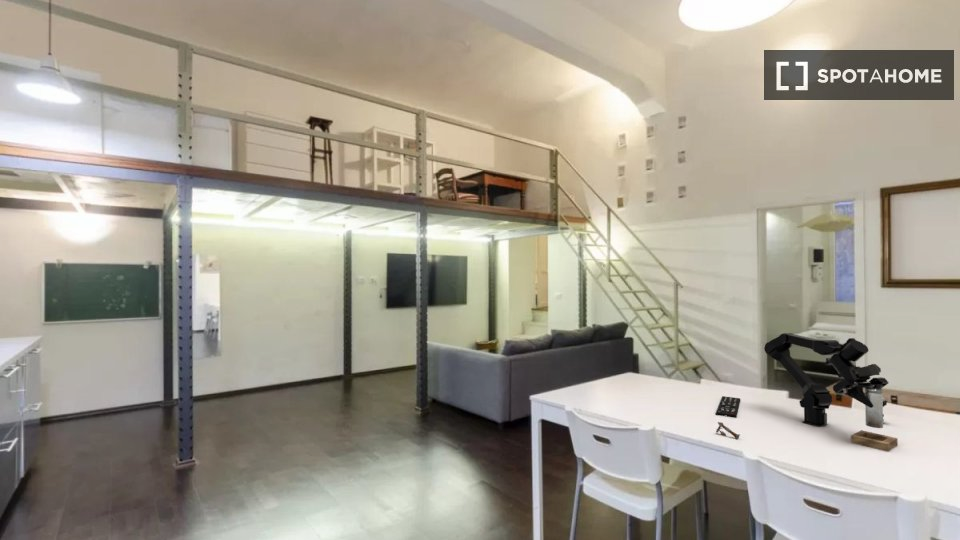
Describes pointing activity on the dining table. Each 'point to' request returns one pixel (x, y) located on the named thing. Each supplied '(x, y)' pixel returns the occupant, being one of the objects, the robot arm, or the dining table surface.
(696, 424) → the dining table surface
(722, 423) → the wooden post with brackets
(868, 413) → the metal canister
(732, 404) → the remote control
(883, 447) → the frame
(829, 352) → the robot arm
